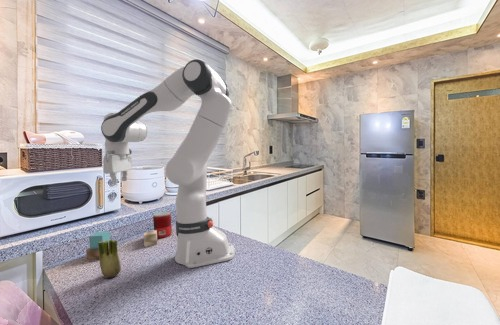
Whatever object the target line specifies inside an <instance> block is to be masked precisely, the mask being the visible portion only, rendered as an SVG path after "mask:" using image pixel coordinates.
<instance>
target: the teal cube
mask: <svg viewBox="0 0 500 325" xmlns="http://www.w3.org/2000/svg"><path fill="white" fill-rule="evenodd" d="M88 239H89V248H90V249H97V248H99V245H98V242H101V241H103V242H104V241H108V244H109V240H111V232H110V230H106V231H96V232H95V233H92V234H91V235H90V236H88Z"/></svg>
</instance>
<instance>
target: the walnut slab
mask: <svg viewBox="0 0 500 325" xmlns="http://www.w3.org/2000/svg"><path fill="white" fill-rule="evenodd" d="M108 245H109V244H108ZM85 252H86V253H85V254H86V259H87V260H99V248H97V249H90V247H88V248H86V249H85Z"/></svg>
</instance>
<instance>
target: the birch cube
mask: <svg viewBox="0 0 500 325" xmlns="http://www.w3.org/2000/svg"><path fill="white" fill-rule="evenodd" d="M143 233H144V234H143V241H144V242H143V243H144V247H145V248H146V247H150V246H151V245H152V246H156V245H158V238H157V230H154V229H153V230H150V231H149V230H148V231H144V232H143Z"/></svg>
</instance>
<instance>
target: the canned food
mask: <svg viewBox="0 0 500 325" xmlns="http://www.w3.org/2000/svg"><path fill="white" fill-rule="evenodd" d="M152 219H153V230H157V239H165V238H168V237H170V236H171V235H172V234H173V233H172V232H173V230H172V228H173V227H172V214H171V211H170V210H169V211H168V210H162V211H158V212H155V213H153V214H152Z"/></svg>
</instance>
